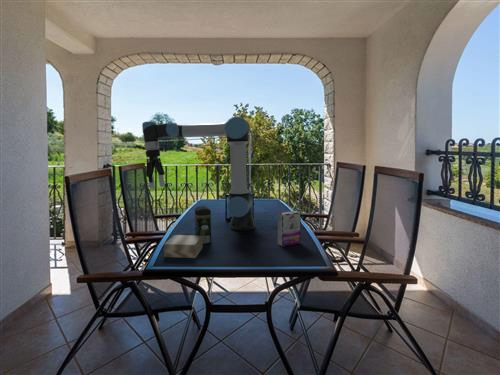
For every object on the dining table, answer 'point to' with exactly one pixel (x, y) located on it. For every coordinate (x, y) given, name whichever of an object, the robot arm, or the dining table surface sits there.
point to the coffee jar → (203, 223)
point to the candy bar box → (289, 228)
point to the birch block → (183, 246)
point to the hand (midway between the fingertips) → (157, 187)
